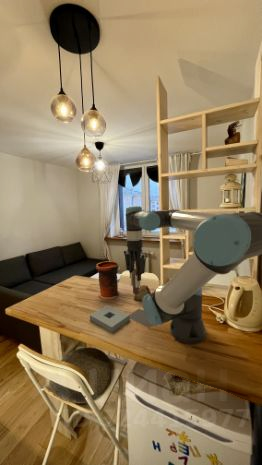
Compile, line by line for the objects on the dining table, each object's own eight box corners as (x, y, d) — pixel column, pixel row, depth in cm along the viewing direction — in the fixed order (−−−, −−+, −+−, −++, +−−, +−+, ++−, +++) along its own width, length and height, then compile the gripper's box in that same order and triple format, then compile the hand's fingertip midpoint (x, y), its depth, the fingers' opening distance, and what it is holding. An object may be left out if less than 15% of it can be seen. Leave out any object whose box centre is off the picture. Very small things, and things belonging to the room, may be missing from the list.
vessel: (94, 291, 130) (93, 262, 127) (114, 287, 136) (114, 259, 133) (100, 301, 117) (99, 269, 114) (122, 296, 123) (122, 265, 120)
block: (129, 320, 97) (129, 315, 96) (112, 333, 88) (111, 327, 87) (107, 310, 107) (107, 305, 106) (90, 320, 98) (89, 315, 98)
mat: (160, 318, 98) (160, 317, 98) (149, 328, 90) (149, 327, 90) (138, 309, 107) (138, 308, 107) (126, 317, 99) (126, 316, 99)
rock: (129, 298, 115) (143, 300, 109) (132, 283, 118) (146, 285, 113) (138, 302, 122) (152, 304, 116) (141, 288, 126) (155, 290, 120)
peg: (140, 292, 97) (139, 269, 95) (136, 294, 95) (135, 271, 93) (135, 290, 99) (135, 268, 97) (131, 292, 97) (131, 270, 95)
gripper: (152, 239, 90) (152, 287, 94) (128, 235, 100) (129, 279, 105) (141, 242, 84) (142, 293, 89) (117, 238, 95) (119, 283, 99)
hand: (135, 285), depth 97 cm, fingers closed on peg, 2 cm apart
